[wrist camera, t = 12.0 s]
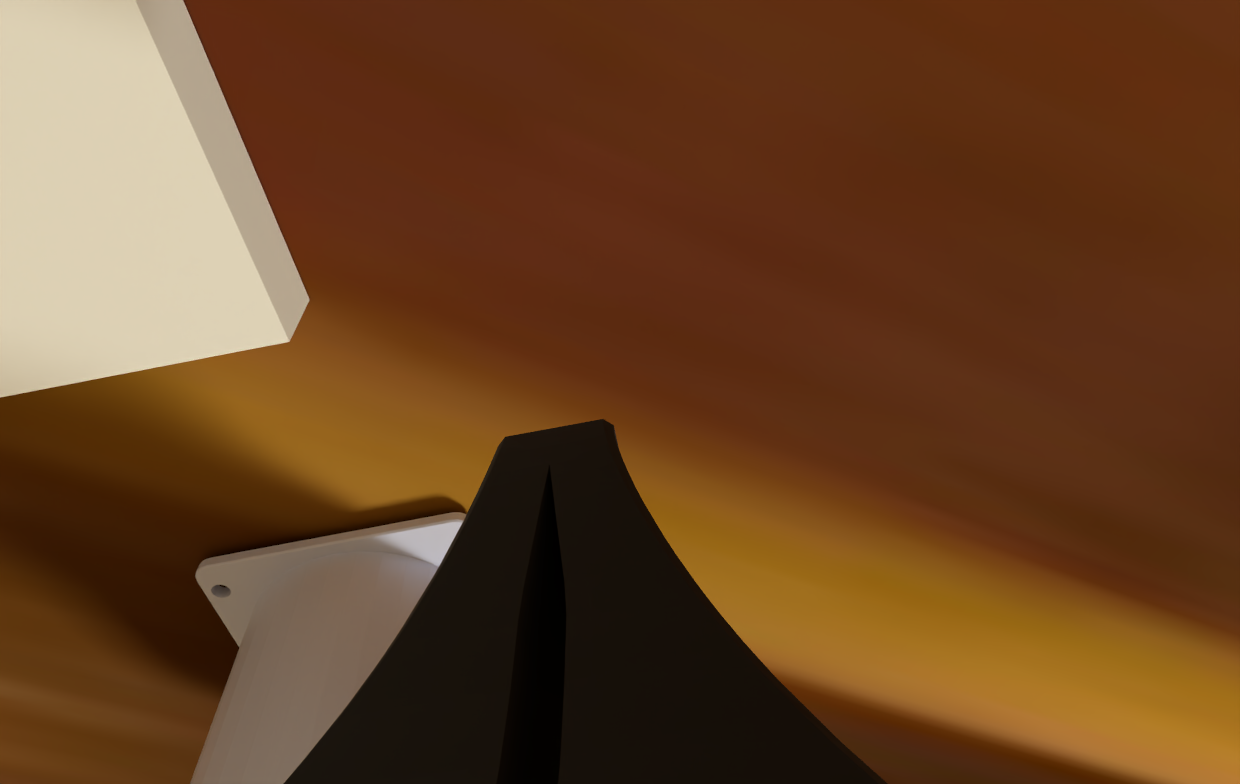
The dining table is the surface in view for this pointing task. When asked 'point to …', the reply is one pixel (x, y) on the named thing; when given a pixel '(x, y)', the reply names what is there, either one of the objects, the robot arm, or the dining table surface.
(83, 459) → the dining table surface
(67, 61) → the board
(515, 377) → the dining table surface
